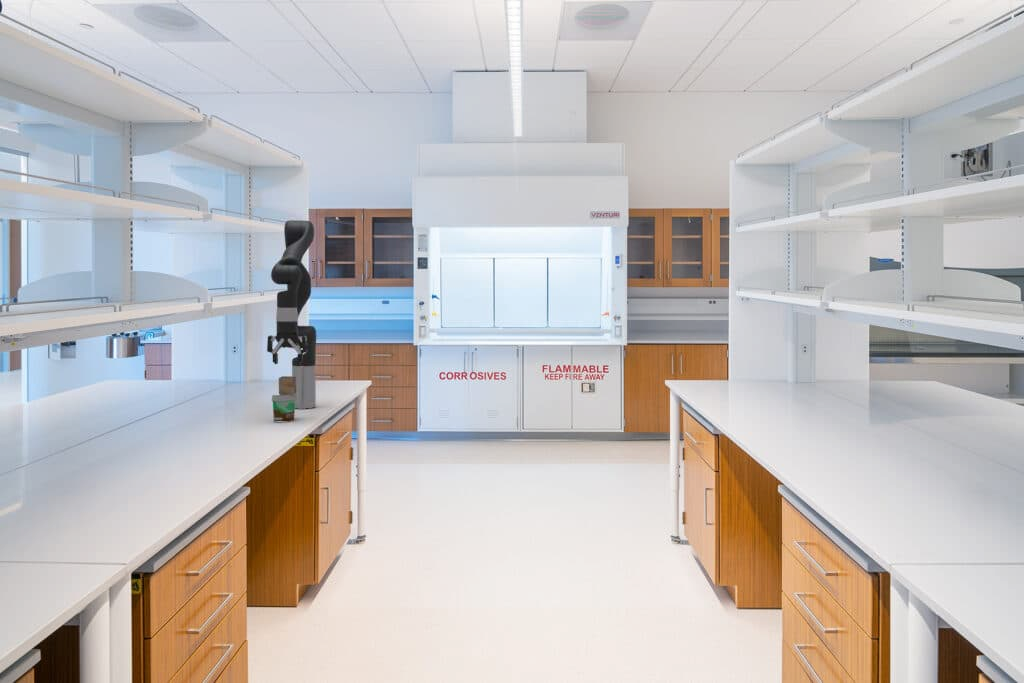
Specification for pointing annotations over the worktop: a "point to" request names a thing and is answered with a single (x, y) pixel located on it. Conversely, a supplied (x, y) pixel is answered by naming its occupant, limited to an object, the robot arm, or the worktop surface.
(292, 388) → the walnut block
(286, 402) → the food container
